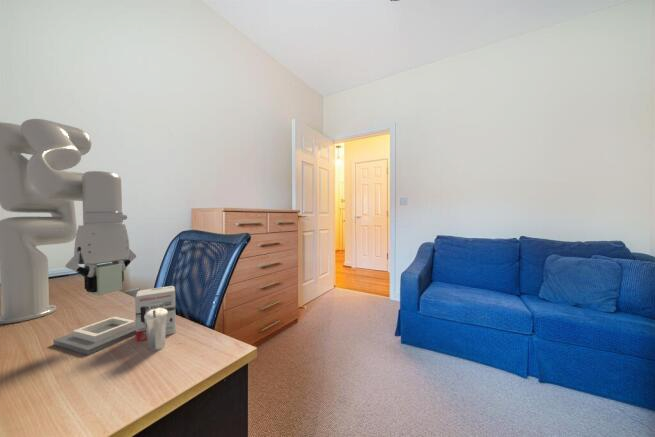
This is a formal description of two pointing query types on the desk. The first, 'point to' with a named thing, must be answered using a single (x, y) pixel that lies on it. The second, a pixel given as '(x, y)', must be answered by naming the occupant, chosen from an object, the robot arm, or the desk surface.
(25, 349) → the desk surface
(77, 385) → the desk surface
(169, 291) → the ink box
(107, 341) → the baseplate
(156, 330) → the milkshake
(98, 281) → the sage block
